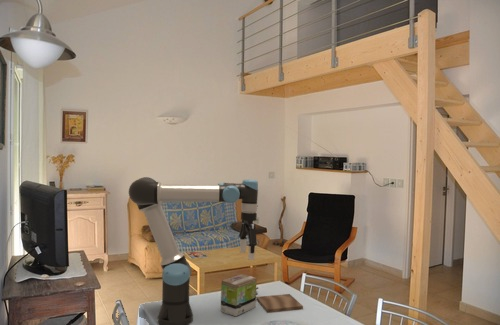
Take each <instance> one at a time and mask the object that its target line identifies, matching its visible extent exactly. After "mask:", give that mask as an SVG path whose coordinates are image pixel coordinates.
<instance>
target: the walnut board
mask: <svg viewBox="0 0 500 325" xmlns="http://www.w3.org/2000/svg"><path fill="white" fill-rule="evenodd" d="M256 302H257V303H258V304H259V305H260V306H261V307H262V309H263V310H265V312H266V313H267V314H268V313H277V312H286V311H287V312H289V311H296V310H297V311H298V310H304V305H303V304H302V303H300V302H299V301H298V300H297V299H296V298H295V297H294V296H293V295H292V294H290V293H286V294H285V293H283V294H273V295H263V296H256Z"/></svg>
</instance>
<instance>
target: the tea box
mask: <svg viewBox="0 0 500 325" xmlns="http://www.w3.org/2000/svg"><path fill="white" fill-rule="evenodd" d="M256 288H257V277H255V276H250V275H247V274H242V273H240V274H238V275H235V276H232V277H229V278H225V279H223V280H221V290H220V291H221V292H220V312H222V313H224V314H227V315H230V316H233V317H237V316H239V315H243V313H244V314H245V313H246V312H248V311H251V310H253V309H255V308H256V305H257V304H256V302H257V300H256V297H257V295H256V293H257V290H256Z"/></svg>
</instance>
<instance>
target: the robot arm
mask: <svg viewBox="0 0 500 325" xmlns="http://www.w3.org/2000/svg"><path fill="white" fill-rule="evenodd" d="M258 188H259V182H258V180H257V179H242V182H240V183H234V182H232V183H231V182H230V183H229V182H218V183H217V184H164V183H163V184H162V183H161V182H160V181H156V180H155V179H154V178H151V177H148V176H145V177H141V178H137V179H136V180H134V181H133V182H131V184H130V186H129V188H128V196H129V198H130V200H131V202H133V203H134V204H136V206H137V208H138V210H139V212H142V213H143V214H144V217H145V218H146V221H147V224H148V226H149V229H150V232H151V234H152V237H153V239H154V242H155V244H156V247H157V249H158V251H159V254H160V257H161V262H160V266H161V268H162V275H161V278H162V290H161V292H162V297H161V298H162V299H161V300H162V302H161V306H160V309H159V311H158V314H157V323H158V324H159V325H189V324H191V323H192V322H193V320H194V314H193V310H192V308H191V304H190V281H191V276H192V267H191V264H190V263H189V262H188V261H187V258H186V256H185V254H184V253H183V252H181V251H180V249H179V247H178V244H177V242H176V239H175V236H174V235H173V231H172V229H171V227H170V224H169V222H168V221H169V220H168V219H167V217H166V214H165V212H164V208H163V207H162V203H163V202H165V203H166V202H169V203H171V202H172V203H173V202H174V203H176V202H177V203H188V202H189V203H202V202H203V203H228V204H234V203H236V202H238V200H241V206H240V208H241V209H240V210H241V213H240V220H241V224H240V230H239V234H238V237H239V239H240V240H239V243H240V244H239V253H240V254H241V253H242V254H243V253H244V254H245V253H246V251H247V250H246V249H247V239H248V258H247V259H248V260H249V261H254V260H255V254H256V253H255V252H256V251H255V250H256V246H258V242H257V241H258V240H257V233H256V224H254V222H256V221H257V216H258V215H257V210H258V207H259V205H258V196H259V195H258V194H259V189H258ZM247 237H248V238H247Z"/></svg>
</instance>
